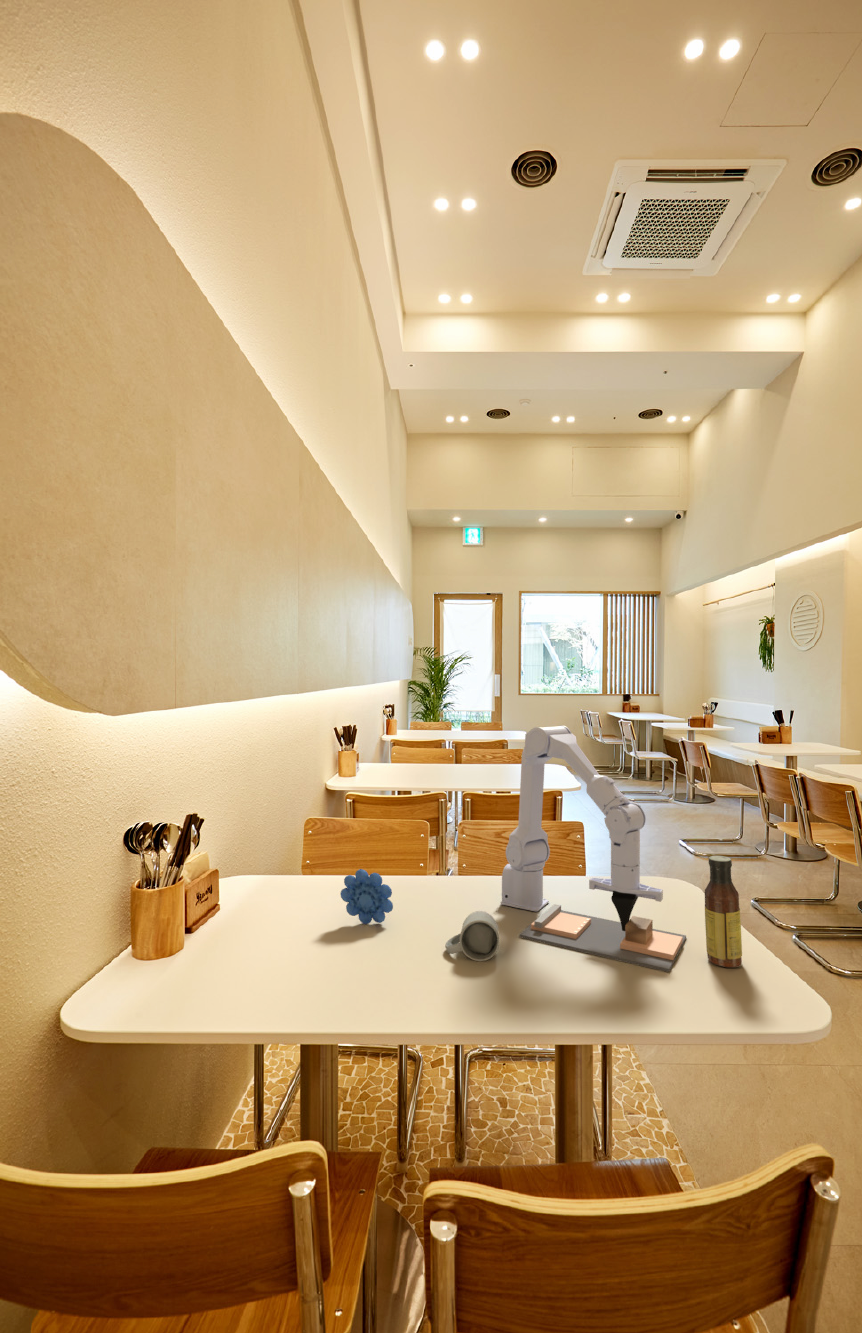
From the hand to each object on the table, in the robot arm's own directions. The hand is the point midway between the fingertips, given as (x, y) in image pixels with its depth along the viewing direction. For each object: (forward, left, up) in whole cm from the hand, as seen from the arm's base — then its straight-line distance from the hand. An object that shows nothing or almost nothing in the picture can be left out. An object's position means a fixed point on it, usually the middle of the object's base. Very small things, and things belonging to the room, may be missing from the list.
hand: (625, 929), depth 129 cm
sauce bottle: (+18, +1, -3) cm, 19 cm away
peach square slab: (+5, 0, -3) cm, 6 cm away
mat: (-5, 0, -3) cm, 5 cm away
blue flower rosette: (-51, -21, -3) cm, 55 cm away
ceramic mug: (-24, -21, -3) cm, 32 cm away
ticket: (-14, 0, -3) cm, 14 cm away
